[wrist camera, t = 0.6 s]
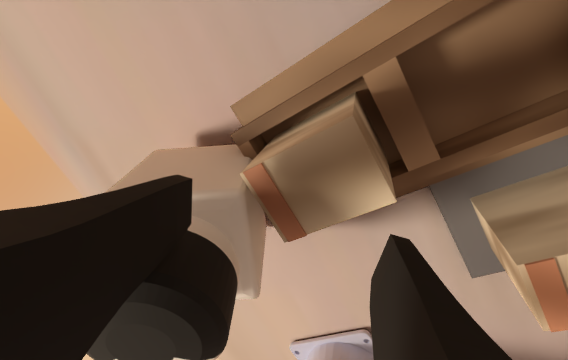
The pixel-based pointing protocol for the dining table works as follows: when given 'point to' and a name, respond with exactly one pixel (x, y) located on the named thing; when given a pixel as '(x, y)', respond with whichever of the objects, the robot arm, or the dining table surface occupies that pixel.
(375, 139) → the block
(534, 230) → the birch block
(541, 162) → the charcoal mat
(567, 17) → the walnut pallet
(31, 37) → the dining table surface
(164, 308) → the medicine bottle
